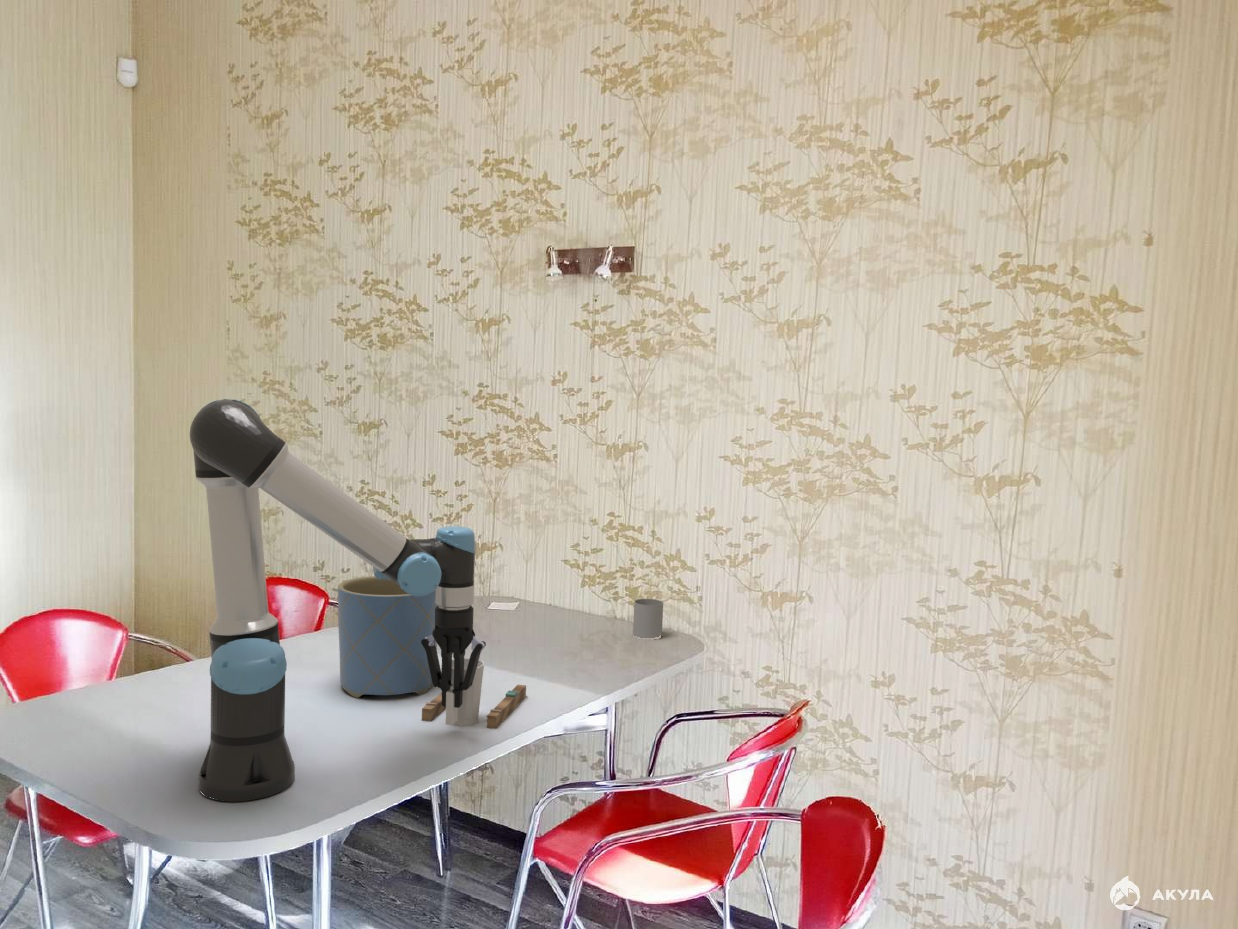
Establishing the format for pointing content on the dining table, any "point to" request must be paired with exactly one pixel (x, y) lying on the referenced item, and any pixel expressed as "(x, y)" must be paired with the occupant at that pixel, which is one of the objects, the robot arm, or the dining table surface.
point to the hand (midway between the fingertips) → (451, 722)
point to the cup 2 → (648, 618)
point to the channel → (495, 714)
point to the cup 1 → (470, 696)
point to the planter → (383, 637)
